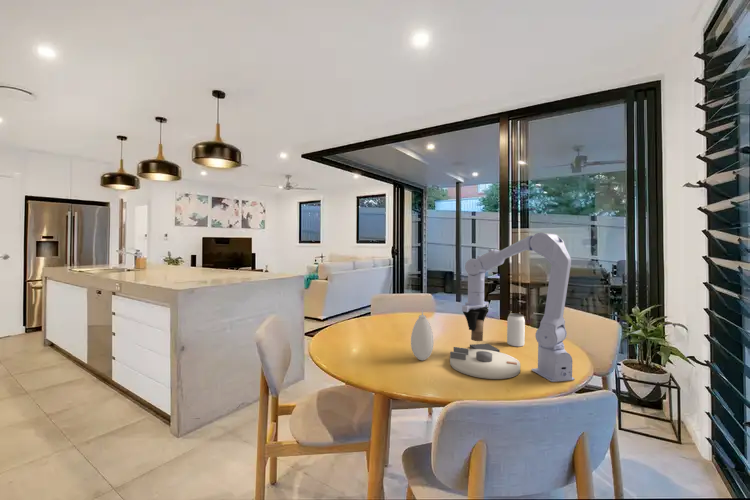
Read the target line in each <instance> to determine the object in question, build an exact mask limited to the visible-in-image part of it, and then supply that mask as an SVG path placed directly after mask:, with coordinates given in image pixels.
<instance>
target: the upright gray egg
mask: <svg viewBox="0 0 750 500" xmlns="http://www.w3.org/2000/svg"><path fill="white" fill-rule="evenodd" d="M434 341H435V339H434V333H433V329H432V327H431V324H430V322H429V320H428V319H427V316H426V315H424V308H422V309H421V315H419V316H418V318H417V319H416V321H415V323H414V325H413V328H412V331H411V335H410V347H411V351H412V354H413V355H414V356H415V357H416V359H417V360H419V361H425V360H427V359H428V358H430V356H431V355H432V352H433V349H434Z"/></svg>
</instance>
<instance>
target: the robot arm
mask: <svg viewBox="0 0 750 500" xmlns="http://www.w3.org/2000/svg"><path fill="white" fill-rule="evenodd" d="M566 247H567V246H566V245H565V241H564V240H563V239H562V238H561V237H560V236H559V235H558V234H556V233H553V232H551V233H550V232H548V233H545V232H536V233H534V234H533V235H529V236H526V237H524V238H521V240H518V241H516V242H514V243H513V244H510V245H509V246H507V247H504V248H503V249H500V250H499V249H496V248H495V249H493V248H490V249H488V250H487V252H486V253H484V254H479V255H477V256H476V257H477V258H470V259H468V260H467V261H466V263H465V266H464V269H465V271H466V273H467V302H465V303H464V305H461V311H462V313H463V315H464V317H465V320H466V323H467V327H468V330H469V331H472V330H473V331H475V329H476V321H477V319H480V320H483V321H484V322H485V319H486V317H487V315H488V313H489V309H488V308H489V307H490V306H489V305H490V304H489V301H485V278H486V277H485V276H486V275H485V274H486V273H487V272H488V271H490V270H493V269H494V268H496V267H499V266H501V265H503V264H504V263H505V261H506V259H508V258H510V257H513V256H516V255H518V254H521V253H523V252H526V251H530V252H531V251H533V252H534V253H536V254H538V255H541V256H542V257H544V258H545V260H547V262H548V263H550V273H549V279H548V284H547V285H548V287H547V294H546V301H545V306H544V307H545V308H544V314H543V316H542V319H541V320H540V324H539V327H538V329H537V330H536V331H535V336H534V337H535V340H536V342H537V343H538V344H537V345H538V346H537V367H536V368H535V367H534V368H531V371H532V372H534V373H535V374H537V375H539V376H540V377H542V378H543V379H546V380H547V381H550V382H551V383H554V382H566V381H567V382H568V381H574V380H575V377H573V357H572V355H571V354H570V353H569V352H567V350H566V349H565V344H564V342H563V341H565V339H566V338H567V336H568V335H567V329H566V319H565V318H564V315H565V314H564V313H565V306H566V300H567V294H568V293H567V292H568V286H569V285H568V284H569V280H570V274H571V273H570V272H571V265H572V258H571V255H570V254H569V252H568V250H567V248H566Z"/></svg>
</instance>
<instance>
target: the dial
mask: <svg viewBox="0 0 750 500" xmlns="http://www.w3.org/2000/svg"><path fill="white" fill-rule="evenodd" d="M449 365H450V367H451V368H452V369H453V370H455V371H458V372H459V373H461V374H464V375H467V376H471V377H475V378H479V379H486V380H487V379H488V380H503V379H511V378H514V377H516V376H518V375H519V374H520V373H521V362H520V361H519V359H517V358H516V357H513V356H511V355H510V354H507V353H505V352H501V351H500V352H496V351H491V350H483V349H472V348H465V347H460V346H459V347H457V346H453V351H450V355H449Z"/></svg>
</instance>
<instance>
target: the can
mask: <svg viewBox="0 0 750 500" xmlns="http://www.w3.org/2000/svg"><path fill="white" fill-rule="evenodd" d="M506 324H507V325H506V327H507V329H506V333H507V334H506V338H507V339H506V343H507V345H509V346H510V347H516V348H518V347H519V348H521V347H523V346H525V341H526V340H525V339H526V338H525V337H526V336H525V334H526V332H525V330H526V327H525V326H526V321H525V315H524V314H522V313H512V312H511V313H509V314H508V316H507V323H506Z"/></svg>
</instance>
